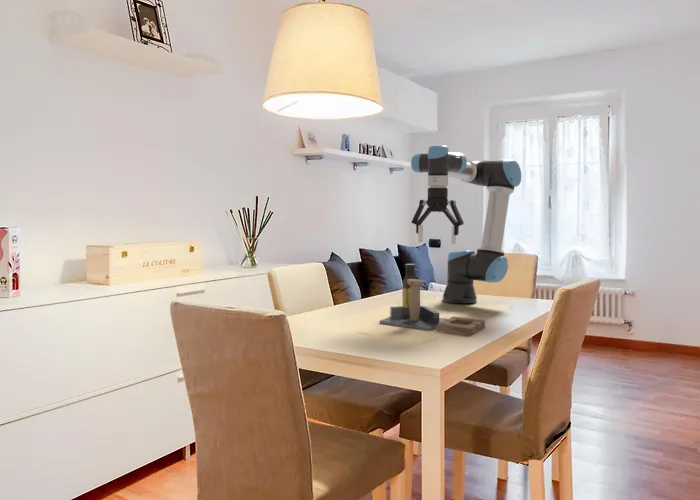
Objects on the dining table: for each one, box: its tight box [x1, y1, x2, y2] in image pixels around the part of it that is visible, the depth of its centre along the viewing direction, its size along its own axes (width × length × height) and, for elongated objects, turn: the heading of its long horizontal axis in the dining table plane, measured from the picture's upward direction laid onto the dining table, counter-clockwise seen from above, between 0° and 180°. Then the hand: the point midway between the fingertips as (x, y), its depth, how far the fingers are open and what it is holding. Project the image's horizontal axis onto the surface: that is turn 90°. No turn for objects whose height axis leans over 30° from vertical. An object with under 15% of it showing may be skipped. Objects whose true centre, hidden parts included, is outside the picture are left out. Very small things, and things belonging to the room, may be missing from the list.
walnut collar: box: [436, 316, 486, 337], centre depth 203 cm, size 16×12×2 cm
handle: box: [407, 278, 425, 321], centre depth 211 cm, size 5×6×15 cm
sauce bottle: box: [402, 263, 417, 306], centre depth 229 cm, size 7×6×20 cm
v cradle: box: [379, 305, 448, 331], centre depth 212 cm, size 18×20×5 cm
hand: (436, 243), depth 219 cm, fingers open, 13 cm apart
